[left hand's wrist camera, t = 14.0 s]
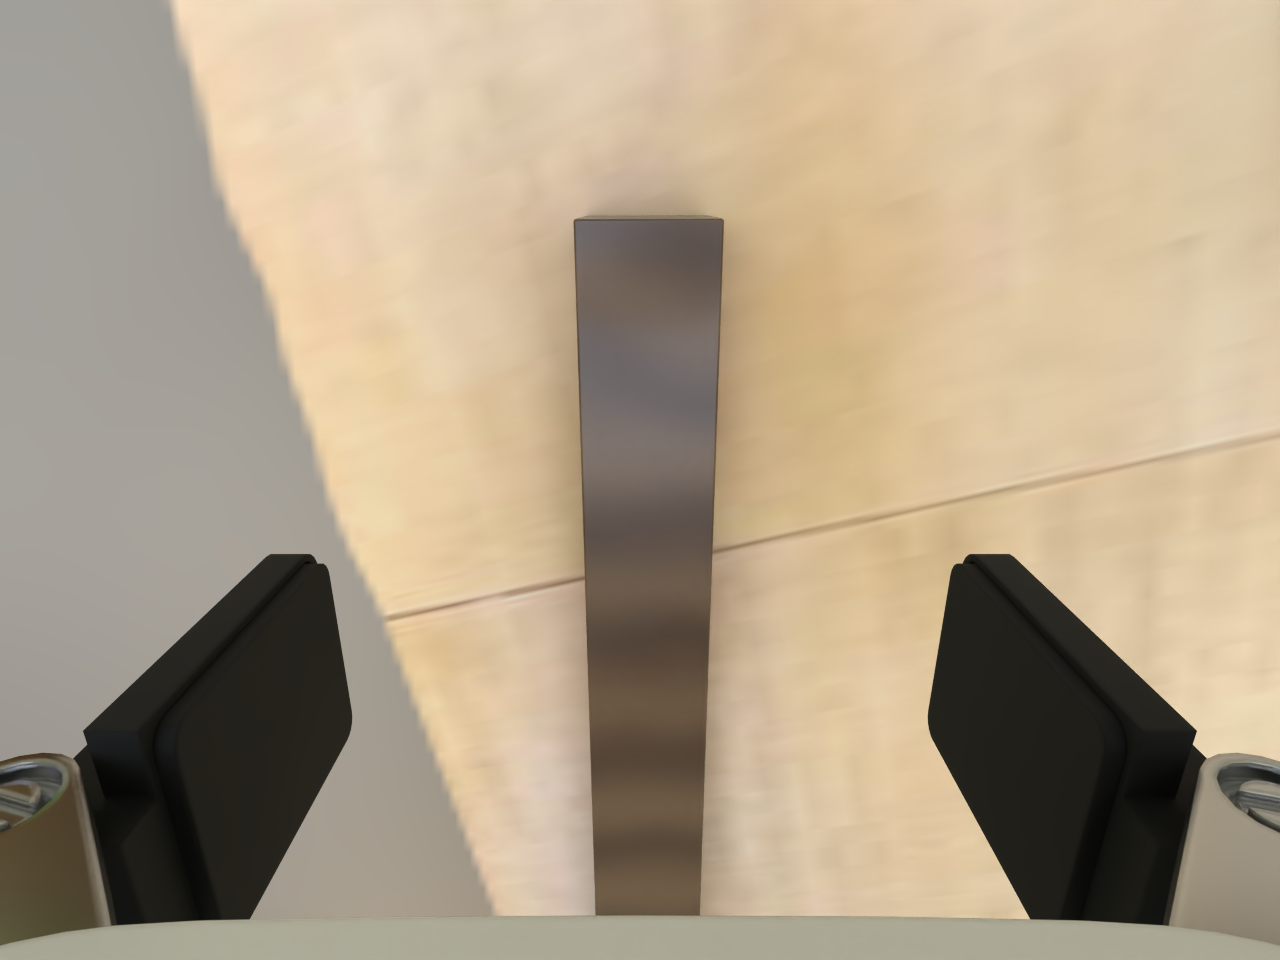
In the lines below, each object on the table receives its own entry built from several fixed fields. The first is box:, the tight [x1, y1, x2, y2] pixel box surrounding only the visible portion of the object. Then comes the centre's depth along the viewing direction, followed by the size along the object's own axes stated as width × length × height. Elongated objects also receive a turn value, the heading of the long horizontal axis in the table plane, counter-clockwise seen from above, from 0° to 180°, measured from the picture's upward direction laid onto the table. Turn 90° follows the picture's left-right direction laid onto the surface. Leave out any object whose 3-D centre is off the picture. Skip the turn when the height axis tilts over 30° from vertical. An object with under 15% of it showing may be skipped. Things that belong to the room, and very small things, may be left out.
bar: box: [574, 216, 724, 916], centre depth 41 cm, size 51×6×7 cm, turn 0°
